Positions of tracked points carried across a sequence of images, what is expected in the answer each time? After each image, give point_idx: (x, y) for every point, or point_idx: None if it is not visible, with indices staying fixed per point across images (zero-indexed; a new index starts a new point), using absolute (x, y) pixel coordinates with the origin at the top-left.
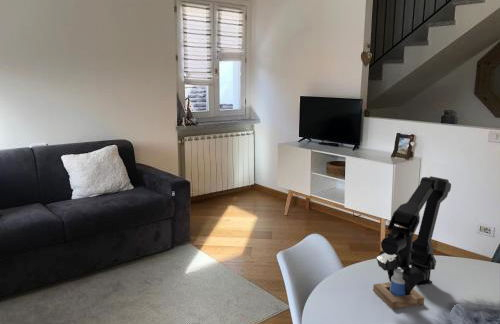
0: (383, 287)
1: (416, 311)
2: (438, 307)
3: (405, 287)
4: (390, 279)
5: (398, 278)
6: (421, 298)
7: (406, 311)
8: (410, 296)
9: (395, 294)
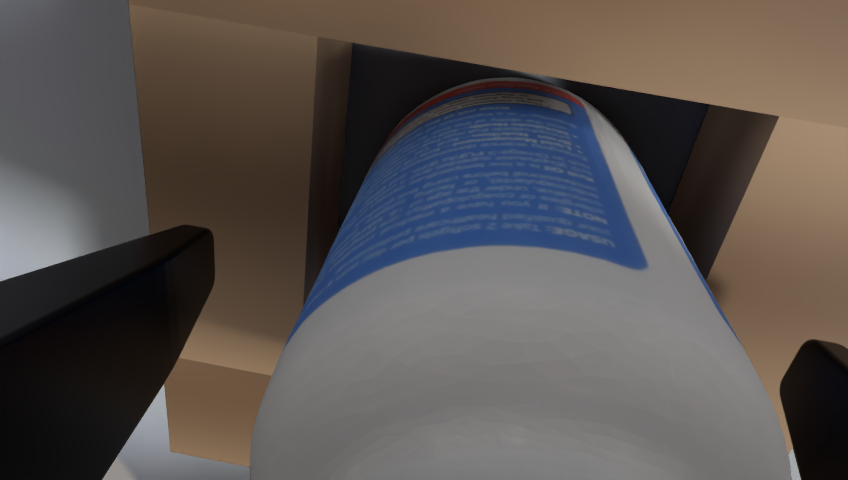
0: (793, 75)
1: (73, 174)
2: (132, 454)
3: (7, 303)
4: (840, 381)
5: (388, 468)
6: (169, 409)
7: (87, 26)
8: (249, 314)
9: (420, 126)
